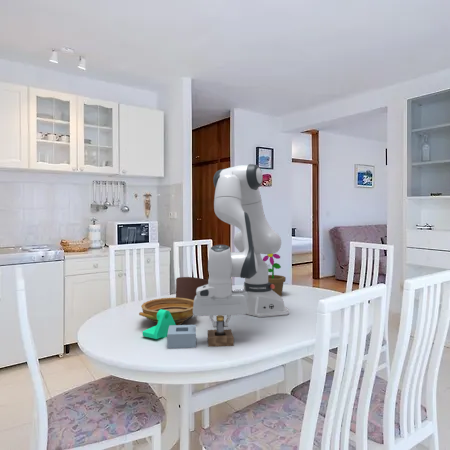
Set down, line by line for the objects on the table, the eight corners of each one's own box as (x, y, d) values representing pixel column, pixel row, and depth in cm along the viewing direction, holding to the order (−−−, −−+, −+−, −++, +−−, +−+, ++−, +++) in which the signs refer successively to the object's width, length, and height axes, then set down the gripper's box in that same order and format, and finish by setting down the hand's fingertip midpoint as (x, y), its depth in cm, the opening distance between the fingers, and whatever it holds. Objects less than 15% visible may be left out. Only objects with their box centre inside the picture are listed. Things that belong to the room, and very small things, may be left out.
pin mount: (231, 337, 141) (231, 329, 141) (233, 345, 132) (233, 337, 132) (207, 337, 140) (207, 330, 140) (208, 346, 131) (208, 338, 131)
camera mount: (161, 329, 151) (161, 304, 150) (176, 332, 147) (176, 307, 146) (141, 338, 140) (141, 311, 140) (156, 342, 136) (156, 314, 136)
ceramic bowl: (159, 337, 140) (158, 317, 140) (124, 324, 157) (124, 305, 157) (214, 320, 162) (214, 302, 161) (178, 310, 178) (178, 293, 178)
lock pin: (223, 340, 138) (223, 315, 137) (224, 342, 135) (224, 317, 134) (216, 340, 137) (216, 315, 137) (216, 343, 135) (216, 317, 134)
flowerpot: (255, 295, 207) (256, 242, 206) (266, 291, 220) (267, 240, 218) (279, 299, 200) (279, 244, 198) (289, 293, 212) (289, 242, 211)
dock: (195, 337, 140) (195, 324, 140) (195, 347, 130) (195, 333, 130) (169, 338, 140) (169, 325, 139) (167, 348, 130) (167, 334, 129)
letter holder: (209, 306, 185) (209, 279, 184) (175, 302, 193) (175, 276, 192) (217, 302, 194) (217, 275, 193) (184, 298, 202) (184, 273, 201)
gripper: (246, 287, 139) (246, 323, 140) (192, 288, 138) (192, 324, 138) (249, 291, 133) (249, 328, 134) (192, 292, 131) (192, 330, 132)
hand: (220, 326), depth 136 cm, fingers closed on lock pin, 3 cm apart
